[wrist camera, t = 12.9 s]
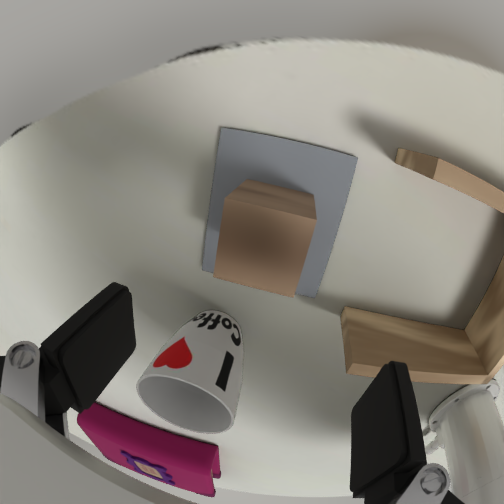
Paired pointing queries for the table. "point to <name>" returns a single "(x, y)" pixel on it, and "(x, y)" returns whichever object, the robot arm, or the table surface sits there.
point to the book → (152, 450)
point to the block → (265, 236)
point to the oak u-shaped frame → (429, 335)
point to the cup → (197, 375)
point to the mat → (289, 176)
